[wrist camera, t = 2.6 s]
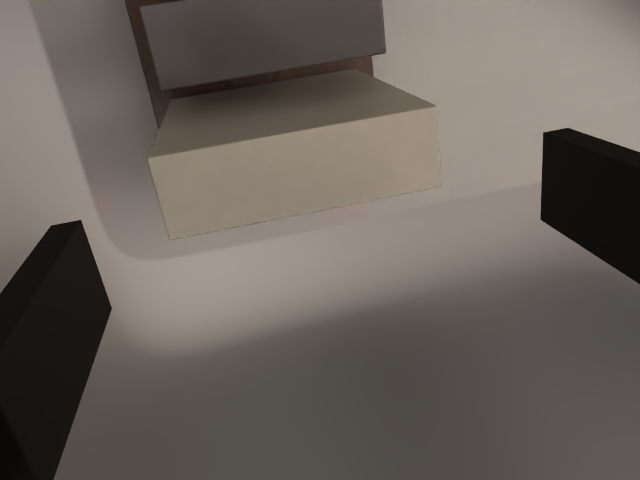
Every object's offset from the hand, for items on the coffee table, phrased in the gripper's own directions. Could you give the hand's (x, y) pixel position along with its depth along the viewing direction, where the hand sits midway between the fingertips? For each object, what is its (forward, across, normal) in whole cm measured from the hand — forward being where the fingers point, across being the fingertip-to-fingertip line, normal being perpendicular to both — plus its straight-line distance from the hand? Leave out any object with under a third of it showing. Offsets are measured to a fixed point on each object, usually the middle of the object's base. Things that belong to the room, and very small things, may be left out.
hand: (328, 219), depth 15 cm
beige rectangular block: (+16, 0, 0) cm, 16 cm away
